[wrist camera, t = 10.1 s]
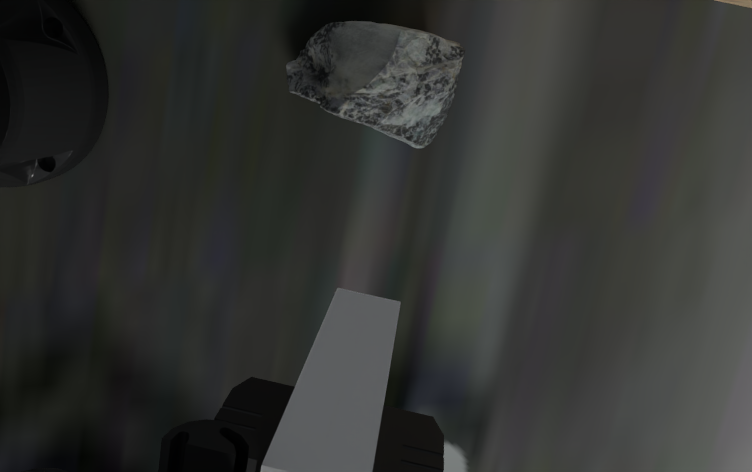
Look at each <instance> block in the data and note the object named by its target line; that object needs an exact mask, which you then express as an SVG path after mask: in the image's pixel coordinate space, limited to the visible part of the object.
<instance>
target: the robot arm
mask: <svg viewBox="0 0 752 472" xmlns="http://www.w3.org/2000/svg"><path fill="white" fill-rule="evenodd" d="M107 106H108V83H107V75H106V70H105V66H104V62H103V59H102V55H101V53H100V50H99V47H98V45H97V43H96V41H95V39H94V37H93V35H92V33H91V31H90V30H89V28H88V27H87V25H86V23H85V22H84V21H83V19H82V18H81V17H80V15H79V14H78V13H77V12H76V10H75V9H74V8H73V7H72V6H71V5H70V4H69V3H68V2H67V1H66V0H0V187H20V186H28V185H33V184H36V183H40V182H42V181H45V180H48V179H51V178H54V177H56V176H59V175H61V174H63V173H65V172H67V171H69V170H70V169H72V168H73V167H75V166H76V165H77V164H78V163H80V162H81V161H82V160H83V159H84V158H85V157H86V156H87V154H88V153H89V152H90V151H91V149H92V148H93V146H94V145H95V143H96V141H97V140H98V138H99V135H100V133H101V131H102V128H103V125H104V122H105V118H106V113H107ZM400 303H401V302H399V301H394V300H390V299H385V298H381V297H376V296H372V295H367V294H363V293H359V292H354V291H350V290H345V289H341V288H337V290H336V292H335V295H334V297H333V299H332V302H331V304H330V306H329V309H328V311H327V313H326V316H325V318H324V320H323V323H322V325H321V327H320V330H319V332H318V334H317V337H316V339H315V342H314V344H313V346H312V349H311V351H310V353H309V356H308V358H307V360H306V363H305V365H304V367H303V370H302V372H301V374H300V377H299V379H298V381H297V384H296V386H295V387H293V386H289V385H284V384H280V383H276V382H271V381H267V380H263V379H258V378H254V377H251V378H249V379H247V380H246V381H244V382H242V383H241V384H239V385H237V386H236V387H234V388H233V389H232V390H231V392H230V394H229V395H228V397H227V398H226V400H225V402H224V403H223V406H222V408H220V410H219V412H218V413H217V415H216V417H215V419H214V420H199V421H191V422H187V423H184V424H182V425H179V426H177V427H175V428H173V429H171V430H170V431H169V432H168V433H167V434H166V435H165V436H164V437H163V438H162V443H161V452H160V461H159V470H158V472H443V470H444V458H443V455H444V435H443V433H442V431H441V430H440V428H439V426H438V424H437V423H436V421H435V419H434V418H433V417H432V416H427V415H423V414H419V413H414V412H410V411H406V410H401V409H397V408H393V407H388V406H384V399H385V393H386V387H387V381H388V375H389V369H390V363H391V357H392V351H393V345H394V339H395V333H396V327H397V321H398V315H399V309H400ZM23 472H68V471H64V470H60V469H57V468H36V469H31V470H27V471H23Z"/></svg>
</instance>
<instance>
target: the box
mask: <svg viewBox="0 0 752 472" xmlns="http://www.w3.org/2000/svg"><path fill="white" fill-rule="evenodd" d="M716 1H721V2H725V3H730V4H735V5H740V6H744V7H749V8H752V0H716Z"/></svg>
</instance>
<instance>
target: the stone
mask: <svg viewBox="0 0 752 472" xmlns="http://www.w3.org/2000/svg"><path fill="white" fill-rule="evenodd" d="M464 53H465V49H464V48H463V47H461V45H460V44H459V43H457V42H455V41H450V40H446V39H443V38H441V37H439V36H437V35H435V34H432V33H428V32H424V31H421V30H416V29H410V28H407V27H402V26H396V25H392V24H384V23H383V24H378V23H374V22H365V21H348V22H334V23H330V24H328V25H325V26H324V27H322V28H321V29H320V30H319V31H317V32H316V33H315V34H313V35H312V36H311V38H310V39H309V41H308V43H307V45H306V47H305V49H304V50H302V51H301V52H300V55H299V56H298V58H297V59H296V60H294V61H291V62H288V63H287V65H286V68H287V81H288V84H289V91H290V92H291V93H294V94H297V95H299V96H301V97H303V98H306V99H309V100H311V101H314V102H317V103H320V107H321V108H322V109H324V110H325V111H327V112H330V113H332V114H334V115H336V116H338V117H340V118H344V119H348V120H351V121H353V122H357V123H362V124H364V125H367V126H370V127H372V128H373V129H376V130H377V131H380V132H383V133H385V134H386V135H388V136H390V137H393V138H396V139H398V140H401V141H403V142H405V143H407V144H409V145H410V146H412V147H415V148H424V147H425V146H426V145H428V144H429V143H431V142H432V140H433V138H434V137H435V136H436V134H437V133H438V129H439V128H440V127H441V125H442V124H443V122H444V121H445V119H446V117H447V115H448V112H449V108H450V106H451V103H452V100H453V97H454V95H455V90H456V87H457V81H458V76H459V71H460V68H461V64H462V63H461V61H462V58H463V57H464Z"/></svg>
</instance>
